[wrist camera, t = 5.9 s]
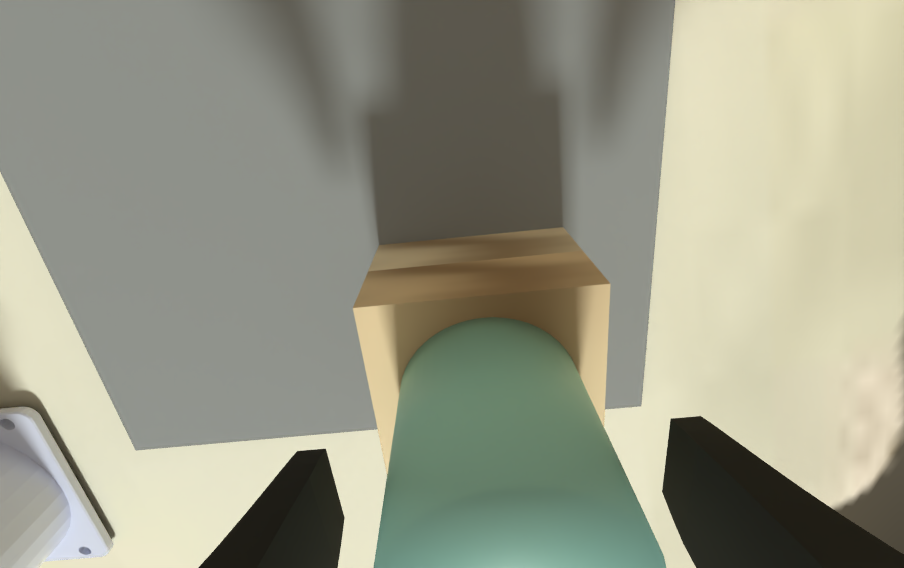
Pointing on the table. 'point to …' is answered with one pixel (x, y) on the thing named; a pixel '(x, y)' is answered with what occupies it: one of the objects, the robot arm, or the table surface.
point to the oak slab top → (480, 316)
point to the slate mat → (314, 180)
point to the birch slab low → (473, 248)
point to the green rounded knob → (505, 461)
